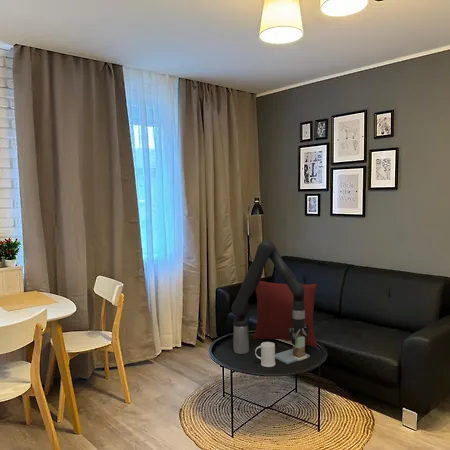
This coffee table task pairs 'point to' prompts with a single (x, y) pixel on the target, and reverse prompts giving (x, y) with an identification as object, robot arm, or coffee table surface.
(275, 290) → the pillow
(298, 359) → the mat
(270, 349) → the mug
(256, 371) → the coffee table surface
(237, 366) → the coffee table surface
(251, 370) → the coffee table surface
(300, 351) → the walnut block
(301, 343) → the sage block
